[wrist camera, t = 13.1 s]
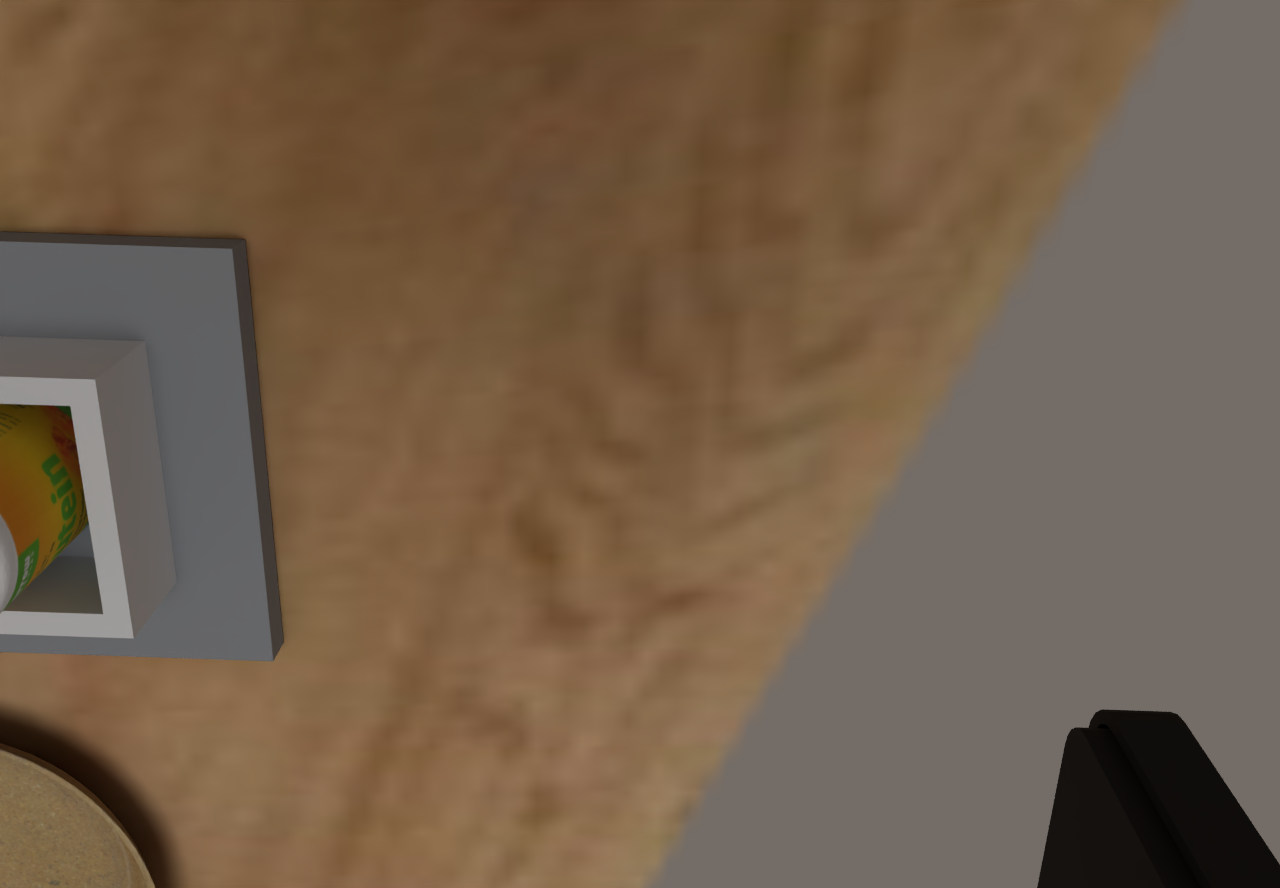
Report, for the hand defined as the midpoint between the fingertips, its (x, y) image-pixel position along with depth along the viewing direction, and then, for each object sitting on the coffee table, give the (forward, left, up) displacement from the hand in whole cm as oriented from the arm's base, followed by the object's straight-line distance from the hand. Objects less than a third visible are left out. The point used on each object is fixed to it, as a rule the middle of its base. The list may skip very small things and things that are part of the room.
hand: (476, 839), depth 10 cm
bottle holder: (+9, -18, -28) cm, 35 cm away
